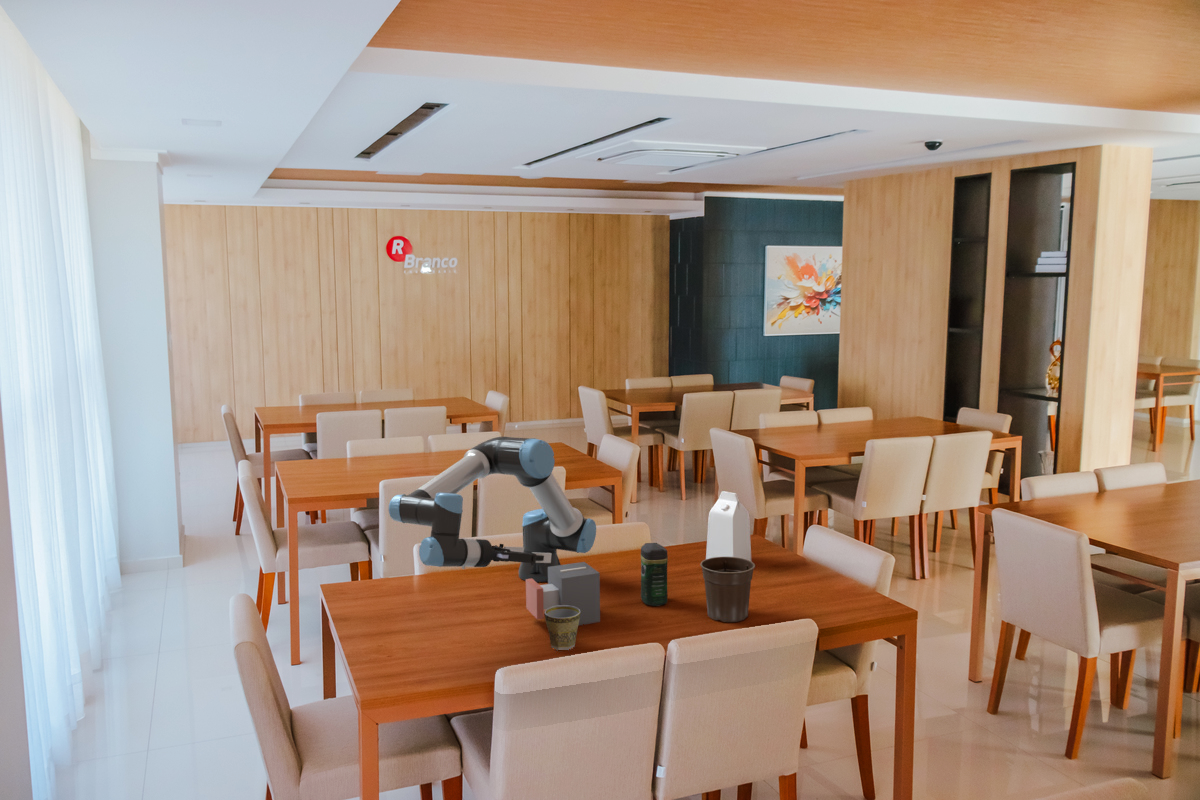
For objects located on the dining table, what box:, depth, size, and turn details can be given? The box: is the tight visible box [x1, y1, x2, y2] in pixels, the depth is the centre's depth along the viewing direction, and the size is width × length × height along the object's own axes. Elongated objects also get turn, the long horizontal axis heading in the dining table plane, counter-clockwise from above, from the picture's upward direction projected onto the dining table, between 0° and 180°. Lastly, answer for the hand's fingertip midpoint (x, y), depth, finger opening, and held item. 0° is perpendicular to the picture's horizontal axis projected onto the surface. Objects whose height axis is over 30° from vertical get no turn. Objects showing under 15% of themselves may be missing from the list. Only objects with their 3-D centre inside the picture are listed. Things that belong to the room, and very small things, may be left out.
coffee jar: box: [640, 542, 669, 607], centre depth 268 cm, size 10×8×19 cm
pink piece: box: [525, 578, 559, 620], centre depth 253 cm, size 14×10×9 cm
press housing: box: [547, 561, 601, 626], centre depth 255 cm, size 12×12×15 cm
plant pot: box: [700, 557, 756, 623], centre depth 256 cm, size 16×16×16 cm
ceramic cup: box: [544, 605, 580, 651], centre depth 236 cm, size 13×10×10 cm
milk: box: [705, 490, 752, 562], centre depth 307 cm, size 12×12×26 cm
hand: (536, 554), depth 246 cm, fingers open, 13 cm apart
